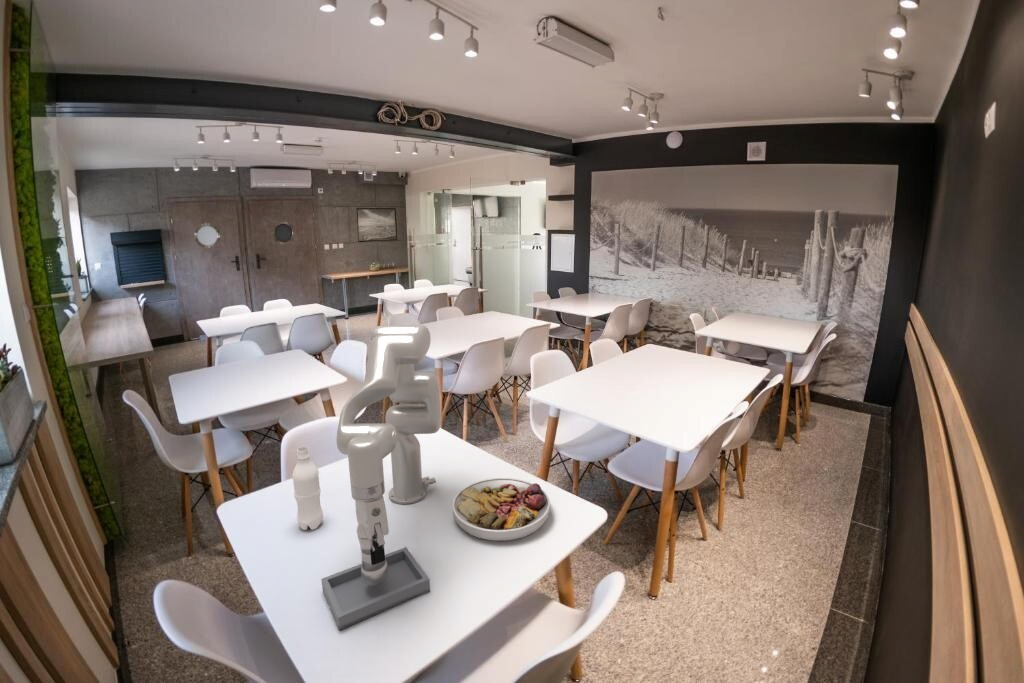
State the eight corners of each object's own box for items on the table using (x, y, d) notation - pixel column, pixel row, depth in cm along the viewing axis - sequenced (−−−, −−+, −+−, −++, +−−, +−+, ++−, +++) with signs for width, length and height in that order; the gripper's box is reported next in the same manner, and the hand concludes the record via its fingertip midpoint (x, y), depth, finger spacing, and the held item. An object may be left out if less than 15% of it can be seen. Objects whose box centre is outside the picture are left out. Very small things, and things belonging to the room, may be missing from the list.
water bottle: (315, 533, 146) (306, 455, 140) (293, 531, 147) (283, 453, 142) (328, 519, 153) (320, 444, 147) (307, 517, 154) (299, 442, 148)
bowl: (478, 559, 135) (477, 534, 133) (438, 506, 160) (437, 484, 159) (569, 527, 149) (569, 503, 147) (519, 482, 175) (519, 462, 173)
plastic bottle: (394, 574, 125) (388, 502, 120) (378, 593, 118) (372, 518, 114) (372, 569, 127) (366, 498, 122) (356, 587, 121) (348, 513, 116)
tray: (406, 558, 135) (406, 546, 134) (430, 591, 123) (429, 578, 122) (322, 591, 123) (321, 578, 123) (339, 631, 111) (338, 617, 110)
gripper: (396, 499, 112) (401, 568, 116) (371, 468, 126) (376, 531, 130) (363, 509, 108) (369, 581, 112) (341, 477, 122) (347, 541, 126)
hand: (373, 554), depth 121 cm, fingers closed on plastic bottle, 6 cm apart
